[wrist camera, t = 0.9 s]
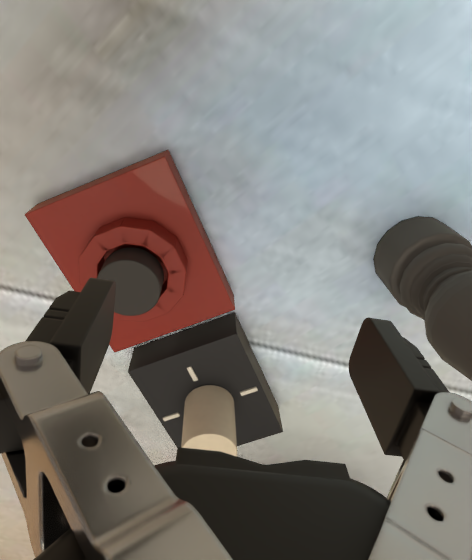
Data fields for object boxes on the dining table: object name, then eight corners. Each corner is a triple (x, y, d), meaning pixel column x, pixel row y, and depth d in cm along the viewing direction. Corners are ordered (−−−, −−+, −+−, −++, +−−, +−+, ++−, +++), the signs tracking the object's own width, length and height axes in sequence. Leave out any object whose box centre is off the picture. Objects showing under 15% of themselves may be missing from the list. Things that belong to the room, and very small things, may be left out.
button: (91, 259, 28) (82, 273, 26) (147, 237, 27) (142, 250, 26) (121, 308, 30) (114, 324, 28) (173, 288, 29) (171, 304, 27)
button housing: (36, 204, 30) (12, 224, 26) (168, 149, 28) (161, 162, 25) (119, 336, 35) (109, 367, 31) (234, 295, 34) (236, 323, 30)
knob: (176, 394, 34) (170, 447, 29) (223, 378, 34) (224, 430, 29) (196, 427, 36) (194, 483, 31) (241, 413, 35) (245, 467, 31)
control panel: (134, 348, 36) (127, 373, 33) (235, 312, 34) (236, 334, 32) (188, 435, 40) (186, 463, 38) (278, 406, 39) (283, 433, 36)
